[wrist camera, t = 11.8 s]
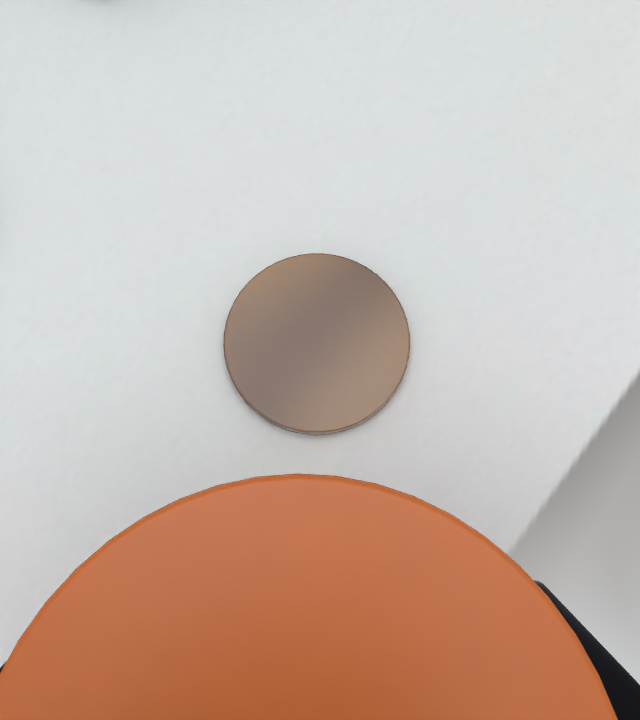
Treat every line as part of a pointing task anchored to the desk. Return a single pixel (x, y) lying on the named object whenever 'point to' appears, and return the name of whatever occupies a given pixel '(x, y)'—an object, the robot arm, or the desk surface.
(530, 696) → the cap
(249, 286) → the coaster
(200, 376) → the desk surface
